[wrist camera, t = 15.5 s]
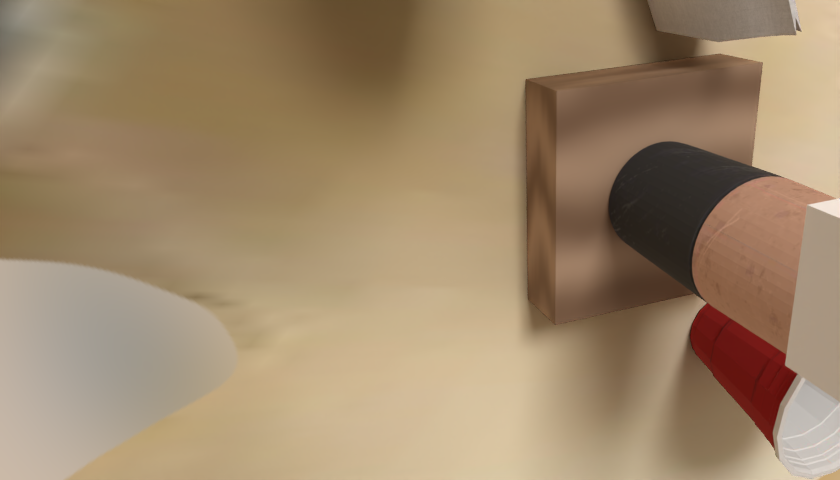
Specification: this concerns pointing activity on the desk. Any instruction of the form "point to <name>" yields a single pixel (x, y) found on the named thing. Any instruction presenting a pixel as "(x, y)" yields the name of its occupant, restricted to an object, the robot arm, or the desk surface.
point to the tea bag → (725, 18)
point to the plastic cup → (771, 394)
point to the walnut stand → (618, 169)
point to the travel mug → (717, 230)
